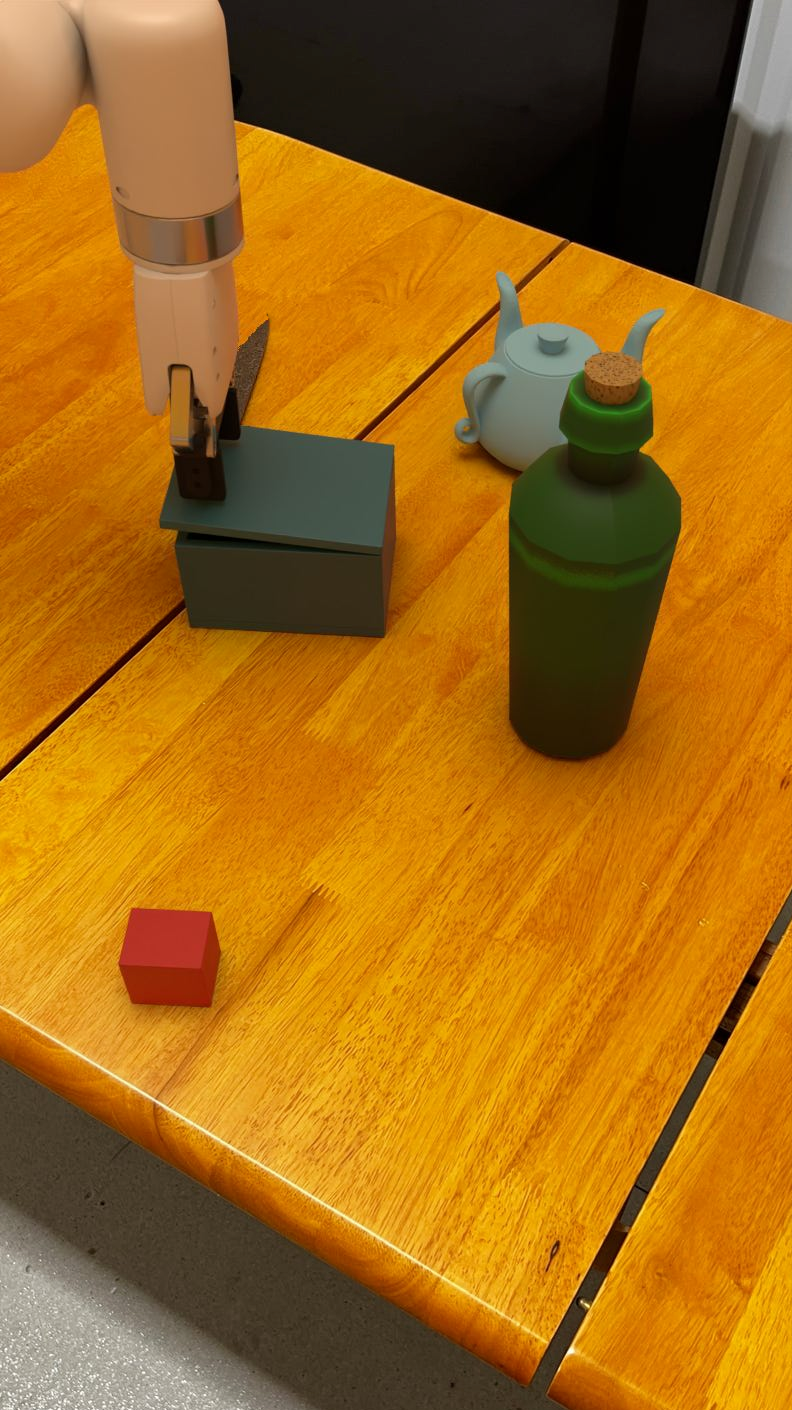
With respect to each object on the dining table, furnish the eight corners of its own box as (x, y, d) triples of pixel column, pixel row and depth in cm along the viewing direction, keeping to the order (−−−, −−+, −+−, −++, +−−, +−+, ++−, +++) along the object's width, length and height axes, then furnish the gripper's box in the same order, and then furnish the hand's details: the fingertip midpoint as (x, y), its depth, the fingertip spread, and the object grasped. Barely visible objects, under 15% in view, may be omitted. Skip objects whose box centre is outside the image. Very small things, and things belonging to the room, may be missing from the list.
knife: (239, 317, 124) (236, 303, 123) (282, 316, 124) (279, 302, 123) (157, 531, 105) (152, 517, 104) (207, 530, 104) (203, 516, 103)
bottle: (622, 658, 98) (682, 308, 75) (658, 766, 92) (735, 420, 69) (481, 672, 96) (499, 320, 74) (508, 782, 90) (537, 435, 68)
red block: (131, 1003, 79) (117, 964, 75) (143, 947, 81) (131, 907, 78) (211, 1007, 79) (201, 968, 75) (221, 951, 81) (212, 911, 78)
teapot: (431, 463, 111) (432, 354, 103) (496, 369, 119) (502, 261, 111) (595, 510, 108) (609, 401, 100) (650, 410, 116) (667, 302, 108)
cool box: (189, 627, 98) (173, 545, 92) (213, 526, 105) (200, 443, 99) (384, 637, 98) (382, 556, 92) (396, 535, 105) (394, 454, 99)
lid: (159, 528, 91) (153, 461, 86) (187, 426, 98) (183, 359, 93) (381, 556, 92) (387, 491, 87) (394, 453, 99) (399, 388, 94)
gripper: (144, 144, 84) (179, 391, 98) (86, 291, 74) (135, 543, 88) (261, 153, 84) (279, 398, 99) (220, 301, 74) (247, 551, 88)
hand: (211, 464), depth 93 cm, fingers closed on lid, 6 cm apart
